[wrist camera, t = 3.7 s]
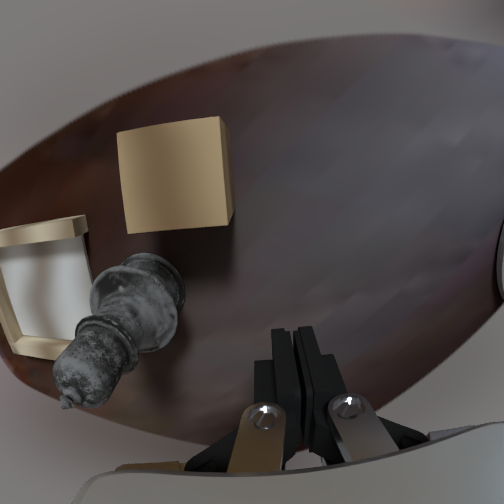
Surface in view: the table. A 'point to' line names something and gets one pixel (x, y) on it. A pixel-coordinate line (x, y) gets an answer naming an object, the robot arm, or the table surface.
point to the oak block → (176, 175)
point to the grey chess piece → (119, 328)
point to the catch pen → (44, 285)
